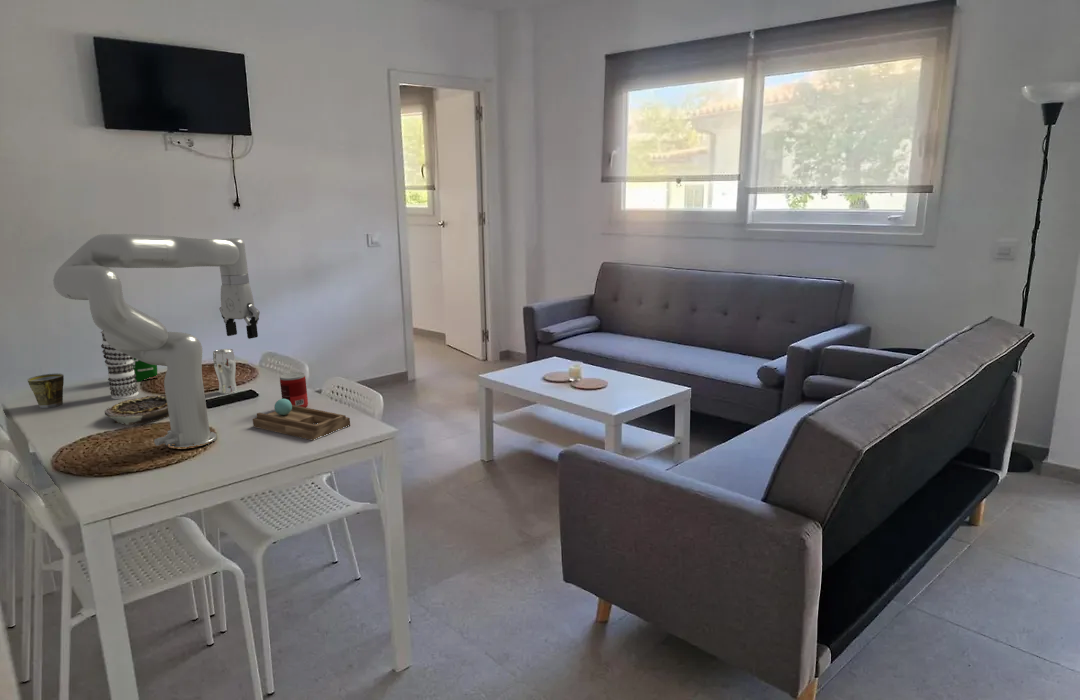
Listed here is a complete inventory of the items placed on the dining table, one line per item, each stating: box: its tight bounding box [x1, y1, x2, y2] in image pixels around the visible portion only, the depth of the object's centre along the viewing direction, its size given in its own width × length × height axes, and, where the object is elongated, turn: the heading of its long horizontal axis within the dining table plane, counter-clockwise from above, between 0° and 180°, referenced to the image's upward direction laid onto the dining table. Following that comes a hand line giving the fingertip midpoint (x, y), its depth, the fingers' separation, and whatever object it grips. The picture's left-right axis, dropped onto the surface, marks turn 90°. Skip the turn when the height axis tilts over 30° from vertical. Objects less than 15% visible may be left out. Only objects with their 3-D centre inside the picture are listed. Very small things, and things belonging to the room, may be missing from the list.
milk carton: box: [131, 358, 158, 383], centre depth 261 cm, size 9×9×20 cm
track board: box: [252, 405, 351, 441], centre depth 202 cm, size 14×26×4 cm, turn 59°
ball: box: [273, 398, 292, 415], centre depth 205 cm, size 5×5×5 cm
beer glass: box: [212, 348, 238, 395], centre depth 240 cm, size 7×7×15 cm
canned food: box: [279, 371, 309, 408], centre depth 220 cm, size 8×8×11 cm
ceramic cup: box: [27, 372, 64, 409], centre depth 229 cm, size 13×10×10 cm
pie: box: [104, 394, 169, 426], centre depth 217 cm, size 28×27×5 cm
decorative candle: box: [99, 330, 139, 400], centre depth 238 cm, size 9×9×25 cm
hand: (242, 336), depth 206 cm, fingers open, 9 cm apart
